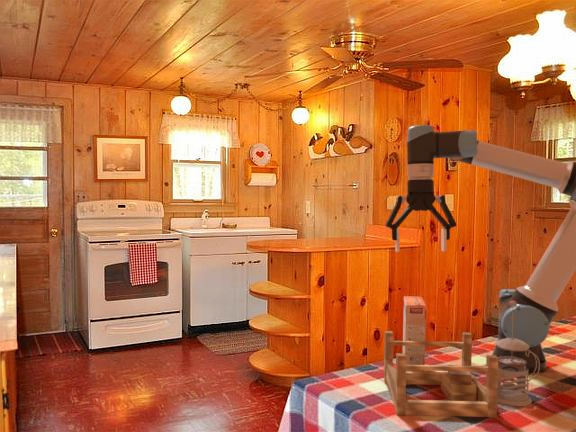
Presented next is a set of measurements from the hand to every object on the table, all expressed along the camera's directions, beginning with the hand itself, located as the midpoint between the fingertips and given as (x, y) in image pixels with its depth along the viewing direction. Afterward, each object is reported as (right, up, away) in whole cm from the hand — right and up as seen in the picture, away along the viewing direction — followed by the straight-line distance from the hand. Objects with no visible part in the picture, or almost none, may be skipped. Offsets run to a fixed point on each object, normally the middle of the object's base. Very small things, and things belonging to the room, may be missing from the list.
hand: (420, 251), depth 153 cm
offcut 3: (+4, -36, -20) cm, 42 cm away
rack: (-2, -36, -21) cm, 41 cm away
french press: (+18, -36, -21) cm, 46 cm away
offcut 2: (+5, -34, -20) cm, 40 cm away
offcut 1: (+5, -31, -20) cm, 38 cm away
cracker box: (-2, -35, -1) cm, 35 cm away
